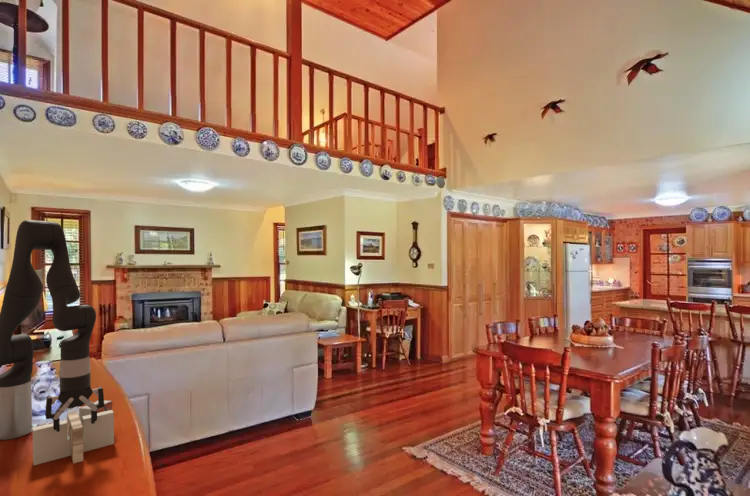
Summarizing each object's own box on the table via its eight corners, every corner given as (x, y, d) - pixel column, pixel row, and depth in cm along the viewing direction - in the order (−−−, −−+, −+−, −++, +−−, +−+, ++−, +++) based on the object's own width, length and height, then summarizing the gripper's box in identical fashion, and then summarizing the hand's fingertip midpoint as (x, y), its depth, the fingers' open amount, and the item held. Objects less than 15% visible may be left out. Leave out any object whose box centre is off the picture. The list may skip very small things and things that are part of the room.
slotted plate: (67, 444, 135) (67, 413, 135) (77, 442, 136) (76, 411, 136) (73, 463, 123) (72, 429, 123) (83, 460, 124) (82, 426, 124)
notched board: (33, 465, 122) (32, 430, 122) (33, 461, 124) (32, 427, 124) (114, 443, 135) (113, 412, 135) (112, 440, 137) (111, 409, 137)
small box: (93, 441, 137) (92, 409, 137) (78, 440, 138) (78, 408, 138) (113, 431, 144) (112, 400, 144) (99, 430, 146) (98, 399, 146)
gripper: (45, 380, 119) (46, 438, 119) (105, 370, 128) (105, 424, 128) (44, 374, 125) (44, 429, 125) (101, 365, 134) (101, 416, 134)
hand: (75, 426), depth 127 cm, fingers open, 8 cm apart
